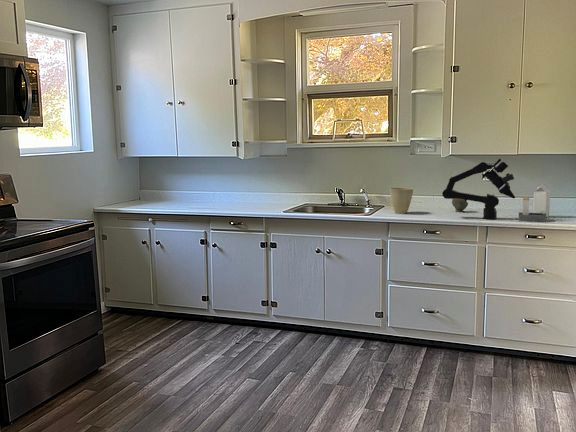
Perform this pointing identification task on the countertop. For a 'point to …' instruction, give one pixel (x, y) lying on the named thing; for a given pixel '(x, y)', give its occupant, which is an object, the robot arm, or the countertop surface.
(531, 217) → the switch housing
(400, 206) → the plant pot
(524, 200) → the switch lever
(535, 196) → the milk carton
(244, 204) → the countertop surface
